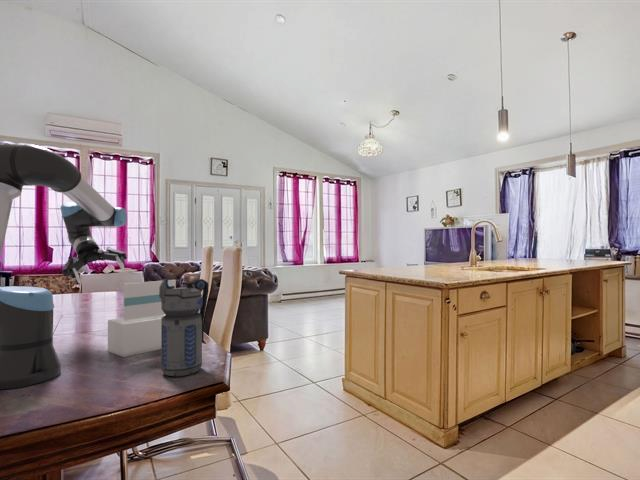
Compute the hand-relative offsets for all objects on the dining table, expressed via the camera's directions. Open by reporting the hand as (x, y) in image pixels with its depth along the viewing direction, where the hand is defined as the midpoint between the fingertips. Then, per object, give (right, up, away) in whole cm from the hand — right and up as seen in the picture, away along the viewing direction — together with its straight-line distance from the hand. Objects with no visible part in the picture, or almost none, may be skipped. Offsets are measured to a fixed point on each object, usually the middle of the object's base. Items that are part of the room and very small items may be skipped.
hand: (101, 273), depth 124 cm
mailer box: (+16, -25, -4) cm, 30 cm away
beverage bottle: (+39, -24, -27) cm, 53 cm away
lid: (+21, -8, -8) cm, 23 cm away
